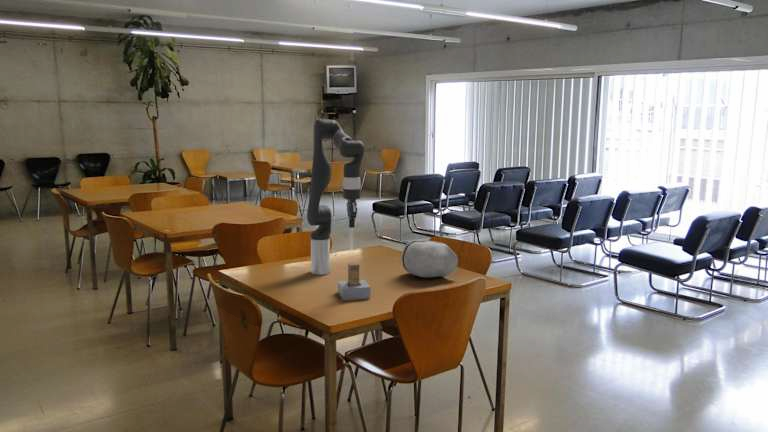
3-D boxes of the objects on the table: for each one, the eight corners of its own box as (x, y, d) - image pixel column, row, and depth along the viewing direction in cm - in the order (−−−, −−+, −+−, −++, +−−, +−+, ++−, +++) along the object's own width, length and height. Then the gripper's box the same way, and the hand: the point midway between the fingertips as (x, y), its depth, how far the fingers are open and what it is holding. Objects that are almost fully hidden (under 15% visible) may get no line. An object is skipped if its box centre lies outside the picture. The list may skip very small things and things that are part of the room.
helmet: (438, 236, 313) (393, 235, 295) (473, 245, 294) (427, 245, 275) (434, 270, 315) (389, 271, 297) (469, 281, 295) (423, 284, 277)
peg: (348, 294, 264) (348, 262, 262) (357, 293, 265) (357, 262, 263) (350, 296, 260) (350, 265, 258) (359, 296, 261) (359, 264, 259)
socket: (337, 292, 267) (337, 281, 266) (364, 290, 270) (364, 279, 269) (342, 300, 255) (342, 288, 255) (370, 298, 258) (370, 287, 257)
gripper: (363, 189, 254) (363, 229, 257) (357, 185, 267) (357, 224, 270) (345, 189, 253) (345, 230, 255) (340, 185, 265) (340, 225, 268)
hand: (351, 227), depth 263 cm, fingers closed
